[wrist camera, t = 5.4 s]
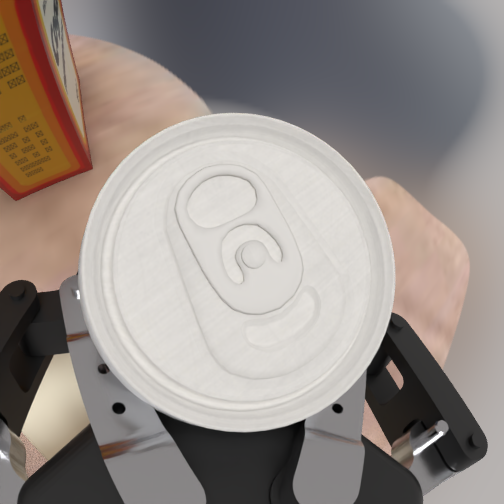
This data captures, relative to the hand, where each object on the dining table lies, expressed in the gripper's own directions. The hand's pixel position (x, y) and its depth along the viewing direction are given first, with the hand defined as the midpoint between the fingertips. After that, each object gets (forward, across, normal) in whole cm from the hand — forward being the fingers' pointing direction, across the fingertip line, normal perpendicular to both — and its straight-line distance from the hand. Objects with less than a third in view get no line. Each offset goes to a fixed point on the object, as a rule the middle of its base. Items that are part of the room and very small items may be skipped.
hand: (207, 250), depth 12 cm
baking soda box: (+12, +13, -1) cm, 18 cm away
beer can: (+4, 0, +6) cm, 8 cm away
